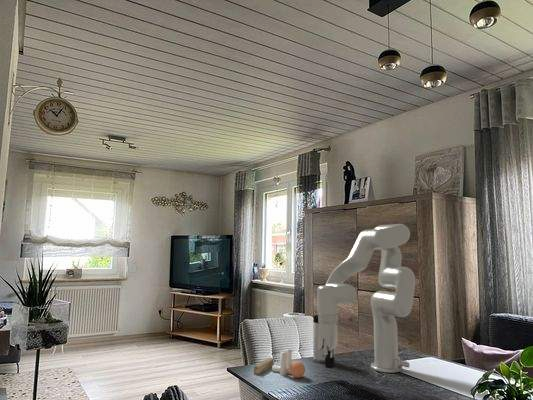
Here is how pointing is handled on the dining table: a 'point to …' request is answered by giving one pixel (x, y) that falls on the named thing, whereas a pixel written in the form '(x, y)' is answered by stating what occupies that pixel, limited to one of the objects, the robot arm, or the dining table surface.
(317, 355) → the travel mug
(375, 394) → the dining table surface
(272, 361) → the wooden bar
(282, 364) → the pin
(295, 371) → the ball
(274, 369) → the front pin
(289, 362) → the pin
